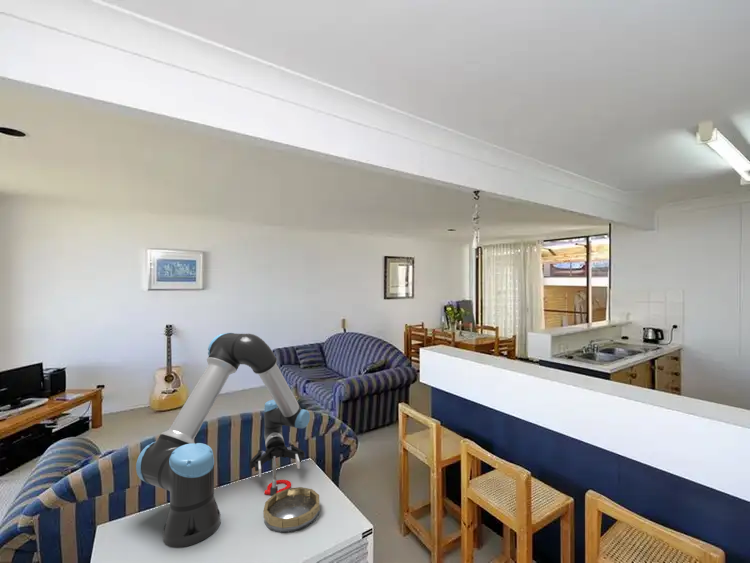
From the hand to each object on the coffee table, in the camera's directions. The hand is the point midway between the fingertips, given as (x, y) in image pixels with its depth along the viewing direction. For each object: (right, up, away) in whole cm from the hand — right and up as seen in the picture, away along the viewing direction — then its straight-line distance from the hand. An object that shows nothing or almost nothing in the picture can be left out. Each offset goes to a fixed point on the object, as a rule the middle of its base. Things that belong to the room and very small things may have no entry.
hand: (279, 469), depth 122 cm
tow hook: (0, -7, 0) cm, 7 cm away
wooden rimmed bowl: (+8, -6, -15) cm, 18 cm away
